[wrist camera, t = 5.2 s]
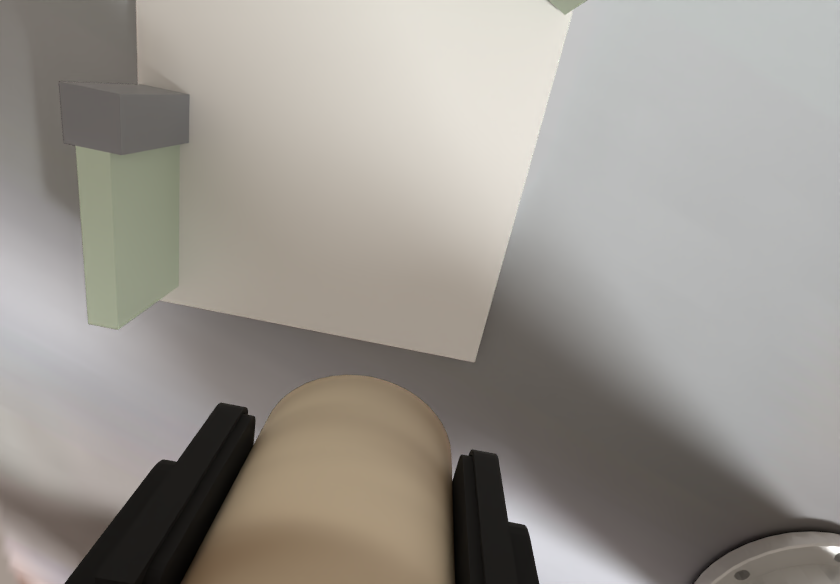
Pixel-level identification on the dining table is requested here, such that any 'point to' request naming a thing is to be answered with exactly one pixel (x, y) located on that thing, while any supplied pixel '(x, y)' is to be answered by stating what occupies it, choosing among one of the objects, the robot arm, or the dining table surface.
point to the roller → (338, 493)
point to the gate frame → (315, 162)
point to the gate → (566, 5)
